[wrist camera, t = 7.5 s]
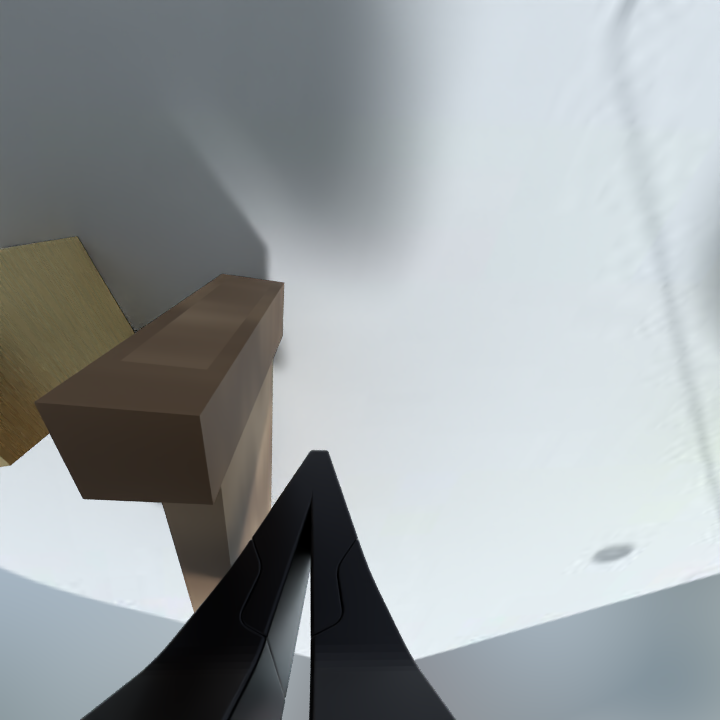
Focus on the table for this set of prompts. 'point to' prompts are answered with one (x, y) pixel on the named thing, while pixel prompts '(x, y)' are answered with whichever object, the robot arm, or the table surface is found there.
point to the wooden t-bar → (182, 422)
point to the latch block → (48, 331)
